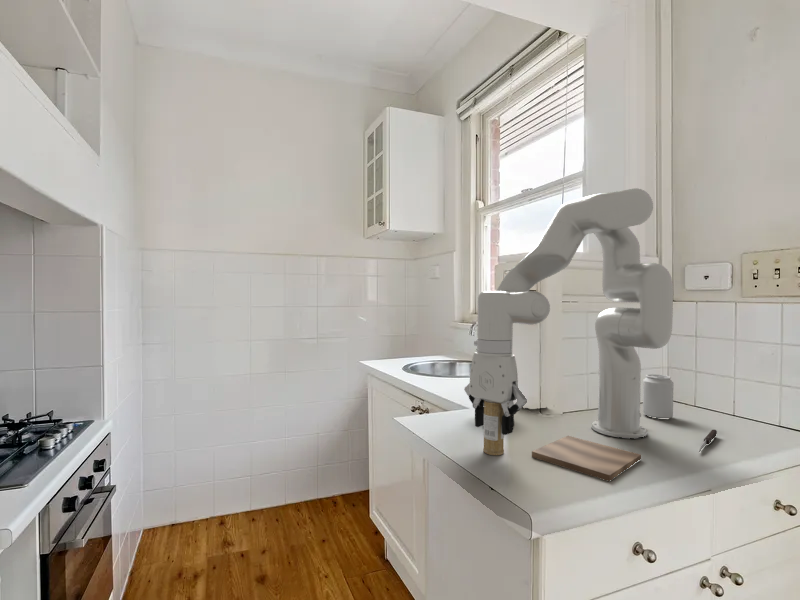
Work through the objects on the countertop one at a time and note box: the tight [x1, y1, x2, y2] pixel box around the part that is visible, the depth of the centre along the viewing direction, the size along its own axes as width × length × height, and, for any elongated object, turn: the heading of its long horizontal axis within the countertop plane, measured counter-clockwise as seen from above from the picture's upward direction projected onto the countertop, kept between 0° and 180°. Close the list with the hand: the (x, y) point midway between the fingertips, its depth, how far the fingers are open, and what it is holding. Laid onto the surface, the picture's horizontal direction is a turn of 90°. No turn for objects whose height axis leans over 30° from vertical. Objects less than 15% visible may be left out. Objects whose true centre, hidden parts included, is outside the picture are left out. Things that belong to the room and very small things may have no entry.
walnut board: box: [531, 435, 642, 482], centre depth 90 cm, size 16×16×1 cm
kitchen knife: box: [698, 429, 718, 453], centre depth 99 cm, size 18×1×2 cm, turn 135°
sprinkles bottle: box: [482, 400, 505, 456], centre depth 93 cm, size 5×5×14 cm
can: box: [642, 373, 674, 419], centre depth 123 cm, size 8×8×12 cm
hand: (493, 428), depth 93 cm, fingers open, 6 cm apart
